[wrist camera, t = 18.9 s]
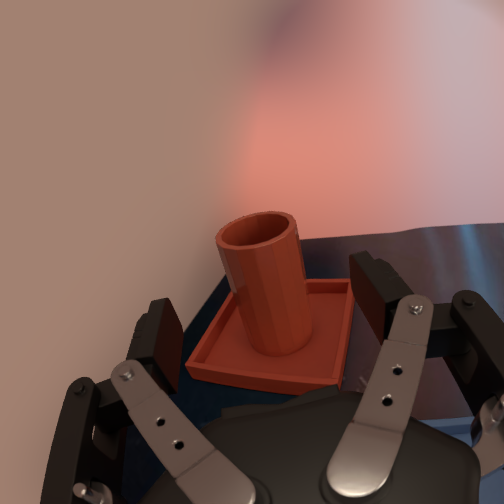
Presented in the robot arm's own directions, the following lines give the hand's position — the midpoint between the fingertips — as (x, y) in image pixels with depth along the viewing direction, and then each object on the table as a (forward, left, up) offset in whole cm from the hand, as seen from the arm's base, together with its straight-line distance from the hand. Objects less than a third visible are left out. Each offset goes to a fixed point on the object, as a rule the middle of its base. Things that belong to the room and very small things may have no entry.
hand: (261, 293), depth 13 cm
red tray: (+5, +10, -13) cm, 17 cm away
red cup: (+5, +10, -13) cm, 17 cm away
